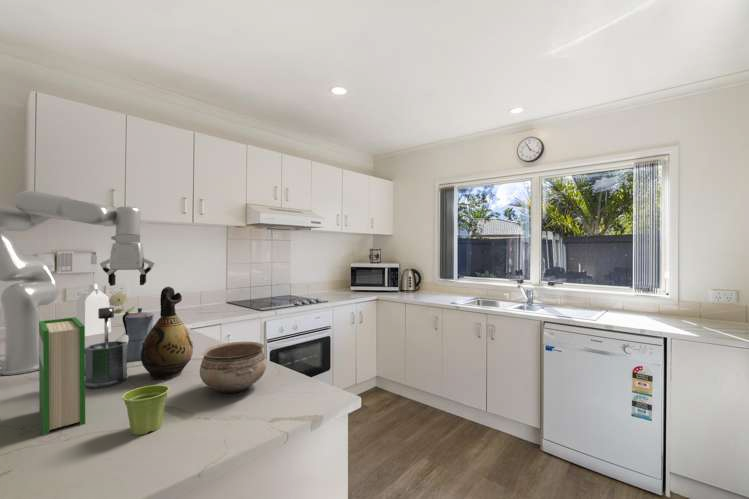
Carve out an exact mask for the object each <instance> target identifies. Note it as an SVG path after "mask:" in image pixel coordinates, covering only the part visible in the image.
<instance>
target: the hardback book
mask: <svg viewBox="0 0 749 499" xmlns="http://www.w3.org/2000/svg"><path fill="white" fill-rule="evenodd" d="M85 337H86V336H85V326H84V325H83V324H82V323H81V322H80V321H79V320H78V319H77V316H75V317H66V318H57V319H47V320H42V321H39V370H38V371H39V372H38V373H39V374H38V376H39V377H38V379H39V380H38V381H39V387H38V388H39V389H38V390H39V393H38V394H39V398H38V399H39V401H38V402H39V403H38V404H39V405H38V406H39V407H38V408H39V411H38V412H39V418H40V422H41V428H42V433H43V436H47V435H50V431H51V430H54V429H58V428H62V427H65V426H70V425H72V424H76V423H79V425H80V426H82V425H86V388H85V348H86V347H85V346H86V338H85Z"/></svg>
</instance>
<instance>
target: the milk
mask: <svg viewBox="0 0 749 499" xmlns="http://www.w3.org/2000/svg"><path fill="white" fill-rule="evenodd" d="M109 299H110V298H109V296H108V295H107V294H105V293H104V292H103V291H101V290H100V289H99V287H98V284H97V283H89V285H88V289H86V290H85V291H84V292H83V293H82V294H80V295H79V297H78V298H77V300H76V318H77V319H78V320H79V321H80V322H81V323H82V324H83V325H84V326H85V337H88V336H94V335H102V334H104V319H99V318H98V309H100V308H108V307H111V305H110V303H109ZM108 333H112V323H111V318H108Z"/></svg>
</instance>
